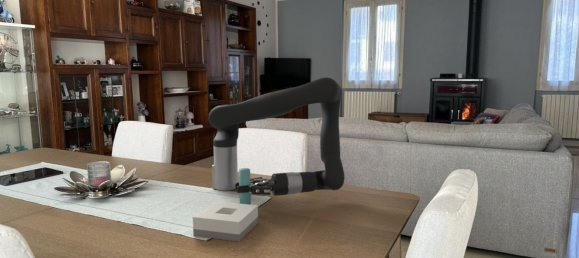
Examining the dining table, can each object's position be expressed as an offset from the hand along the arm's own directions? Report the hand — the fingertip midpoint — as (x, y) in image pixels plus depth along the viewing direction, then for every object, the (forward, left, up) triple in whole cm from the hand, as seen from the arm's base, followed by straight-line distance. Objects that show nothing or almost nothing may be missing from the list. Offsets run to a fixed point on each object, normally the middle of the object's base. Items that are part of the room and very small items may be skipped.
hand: (236, 187), depth 127 cm
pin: (+2, +2, -8) cm, 8 cm away
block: (+3, -14, -8) cm, 17 cm away
